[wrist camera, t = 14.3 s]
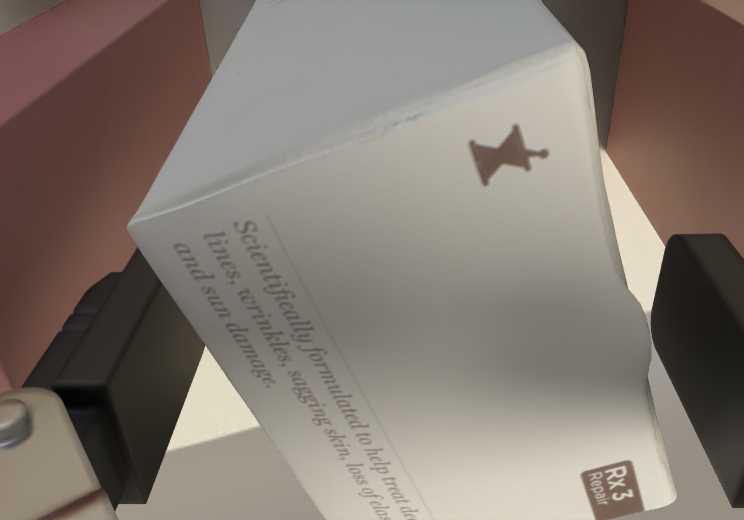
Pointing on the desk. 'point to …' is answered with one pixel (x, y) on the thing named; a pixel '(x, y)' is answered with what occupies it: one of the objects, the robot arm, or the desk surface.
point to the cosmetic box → (414, 262)
